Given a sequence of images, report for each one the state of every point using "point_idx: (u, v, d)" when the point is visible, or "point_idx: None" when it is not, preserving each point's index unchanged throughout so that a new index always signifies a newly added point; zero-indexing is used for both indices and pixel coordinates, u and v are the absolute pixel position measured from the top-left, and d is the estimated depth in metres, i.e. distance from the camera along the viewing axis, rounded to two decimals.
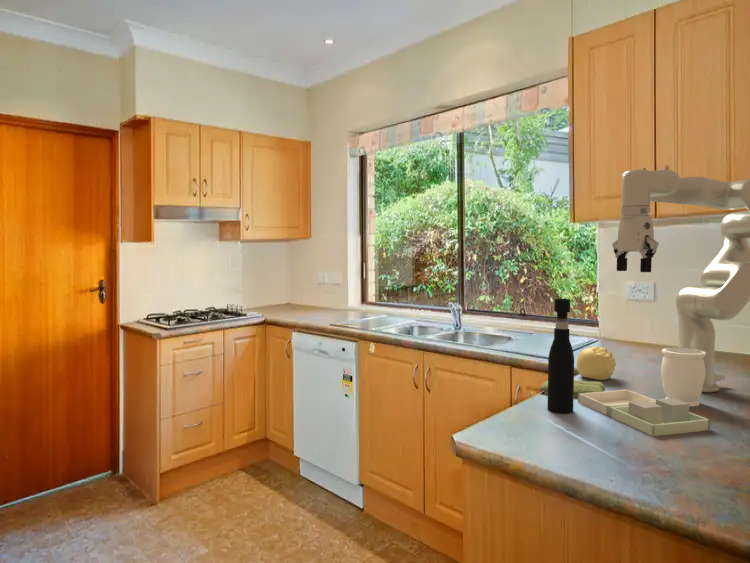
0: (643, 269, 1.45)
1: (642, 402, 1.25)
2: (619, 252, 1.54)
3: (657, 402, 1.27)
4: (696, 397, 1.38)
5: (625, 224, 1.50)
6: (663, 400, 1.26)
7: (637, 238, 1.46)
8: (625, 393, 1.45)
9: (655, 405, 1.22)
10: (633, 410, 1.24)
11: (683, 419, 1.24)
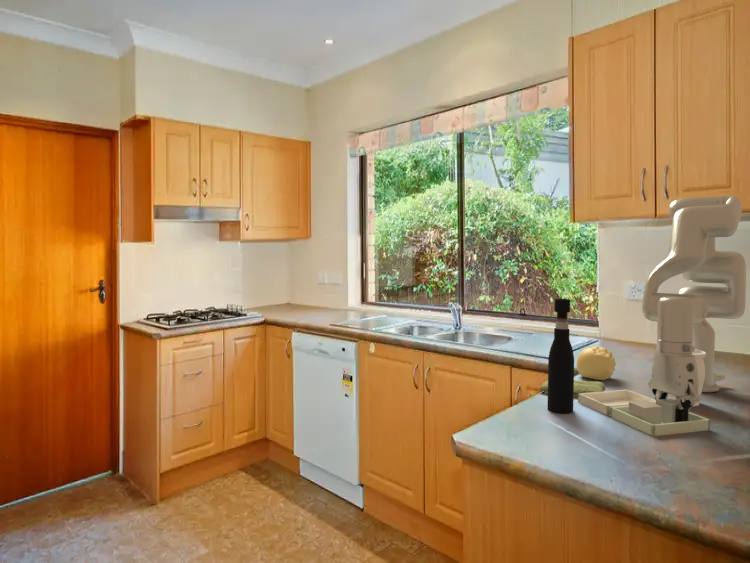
0: None
1: (642, 402, 1.25)
2: (658, 394, 1.28)
3: (657, 402, 1.27)
4: None
5: (662, 360, 1.25)
6: (663, 400, 1.26)
7: (678, 382, 1.21)
8: (625, 393, 1.45)
9: (655, 405, 1.22)
10: (633, 410, 1.24)
11: None
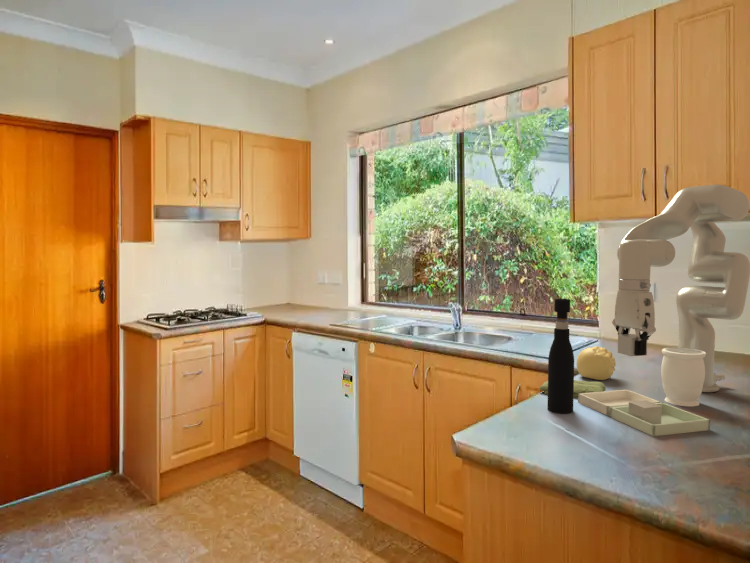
0: (637, 352, 1.35)
1: (642, 402, 1.25)
2: (620, 329, 1.41)
3: (619, 337, 1.39)
4: (696, 397, 1.38)
5: (623, 298, 1.38)
6: (625, 335, 1.39)
7: (636, 315, 1.34)
8: (625, 393, 1.45)
9: (655, 405, 1.22)
10: (633, 410, 1.24)
11: None
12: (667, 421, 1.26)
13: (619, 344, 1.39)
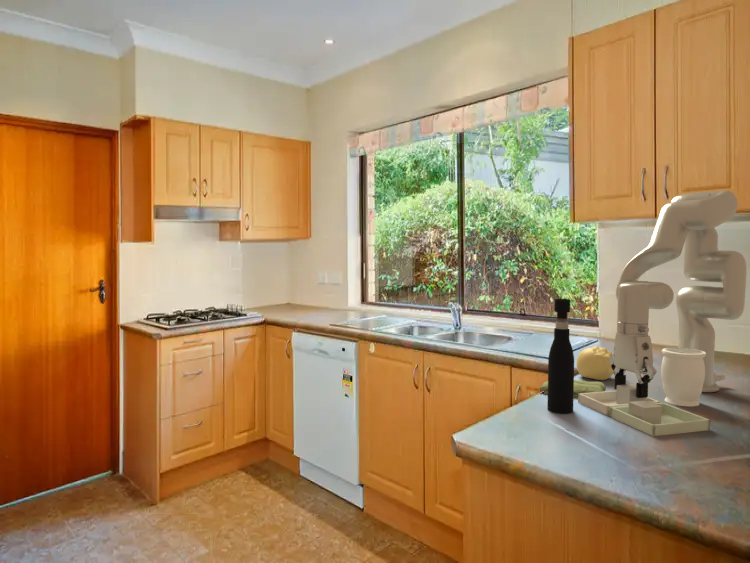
0: (639, 395, 1.35)
1: (642, 402, 1.25)
2: (617, 369, 1.42)
3: (617, 387, 1.40)
4: (696, 397, 1.38)
5: (621, 340, 1.39)
6: (623, 386, 1.40)
7: (635, 359, 1.34)
8: None
9: (655, 405, 1.22)
10: (633, 410, 1.24)
11: None
12: (667, 421, 1.26)
13: (617, 395, 1.40)
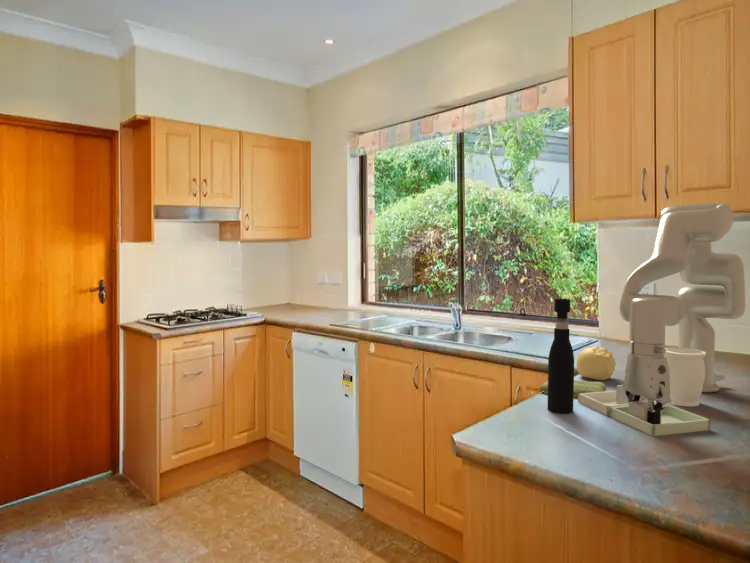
0: None
1: (642, 402, 1.25)
2: (631, 396, 1.26)
3: (617, 387, 1.40)
4: (696, 397, 1.38)
5: (634, 362, 1.23)
6: None
7: (650, 384, 1.19)
8: None
9: None
10: (633, 410, 1.24)
11: None
12: (667, 421, 1.26)
13: (617, 395, 1.40)
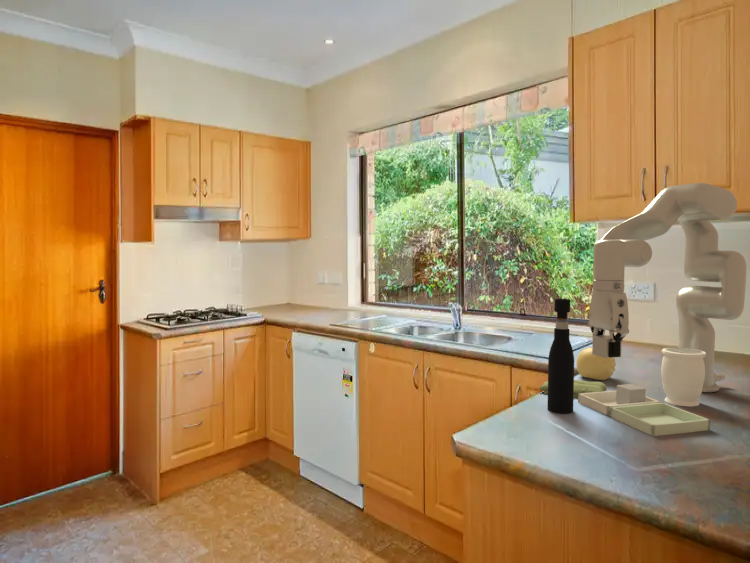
0: (611, 354, 1.33)
1: (605, 336, 1.38)
2: (595, 331, 1.39)
3: (617, 387, 1.40)
4: (696, 397, 1.38)
5: (597, 299, 1.36)
6: (623, 386, 1.40)
7: (610, 317, 1.32)
8: None
9: None
10: (596, 343, 1.36)
11: (640, 402, 1.37)
12: (667, 421, 1.26)
13: (617, 395, 1.40)
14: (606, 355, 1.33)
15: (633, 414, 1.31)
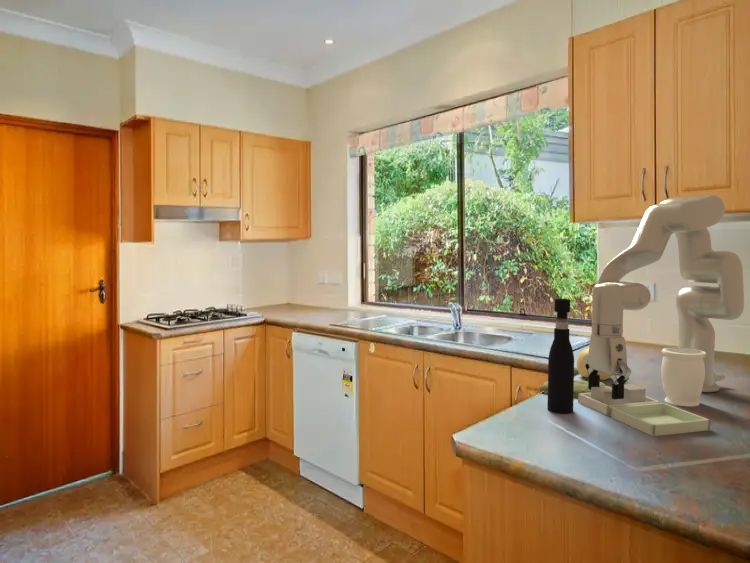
0: (615, 396, 1.32)
1: (603, 387, 1.38)
2: (591, 369, 1.41)
3: None
4: (696, 397, 1.38)
5: (596, 342, 1.37)
6: None
7: (609, 361, 1.32)
8: None
9: None
10: (595, 394, 1.37)
11: (640, 402, 1.37)
12: (667, 421, 1.26)
13: None
14: None
15: (633, 414, 1.31)
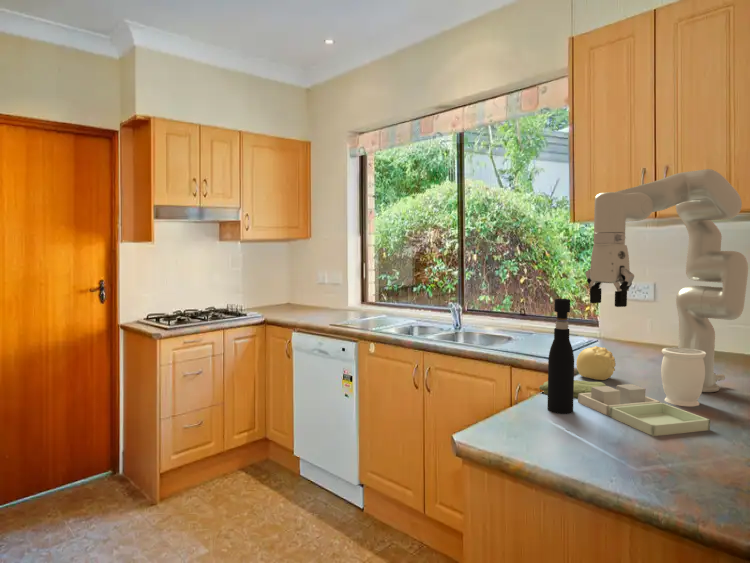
0: (618, 303, 1.30)
1: (603, 387, 1.38)
2: (592, 282, 1.39)
3: (617, 387, 1.40)
4: (696, 397, 1.38)
5: (598, 252, 1.35)
6: (623, 386, 1.40)
7: (611, 269, 1.31)
8: None
9: (614, 390, 1.36)
10: (595, 394, 1.37)
11: (640, 402, 1.37)
12: (667, 421, 1.26)
13: None
14: None
15: (633, 414, 1.31)
